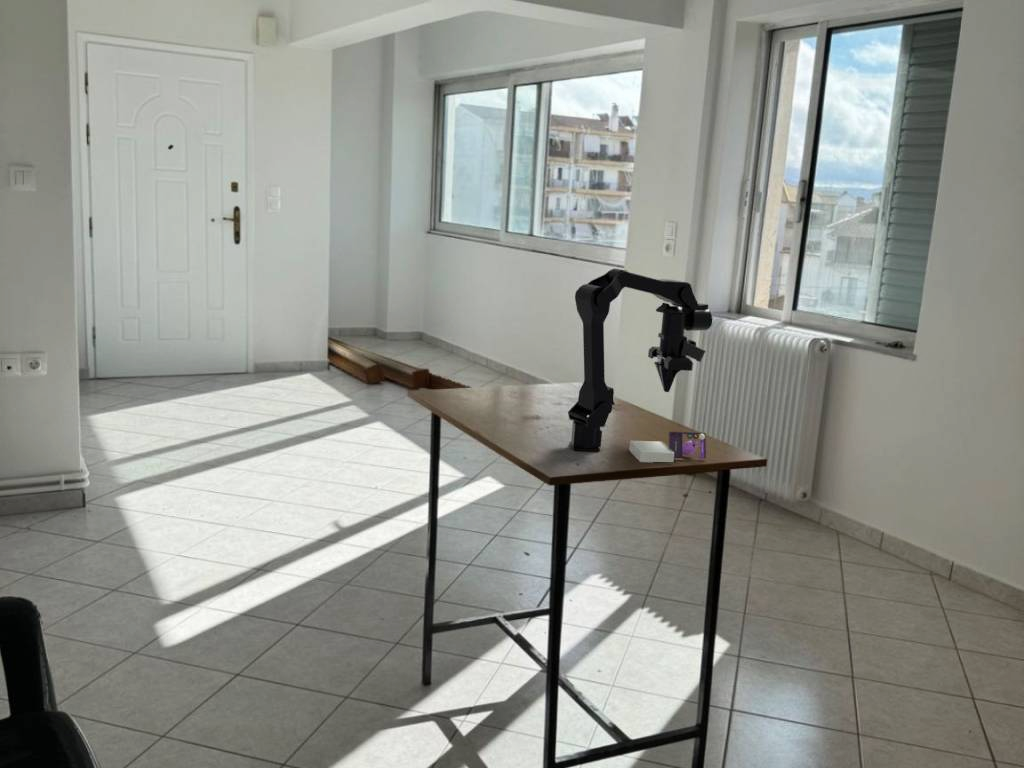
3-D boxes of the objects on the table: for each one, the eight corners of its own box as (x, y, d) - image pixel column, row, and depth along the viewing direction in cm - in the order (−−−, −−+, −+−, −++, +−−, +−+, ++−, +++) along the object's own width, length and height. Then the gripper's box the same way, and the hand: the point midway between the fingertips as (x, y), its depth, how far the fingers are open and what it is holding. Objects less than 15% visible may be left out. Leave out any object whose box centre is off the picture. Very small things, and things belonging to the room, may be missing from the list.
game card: (670, 431, 225) (706, 432, 226) (663, 433, 230) (699, 434, 231) (670, 459, 224) (706, 460, 225) (663, 460, 229) (699, 461, 230)
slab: (640, 462, 221) (641, 451, 220) (629, 450, 230) (630, 440, 230) (673, 463, 222) (674, 452, 221) (661, 451, 232) (662, 441, 231)
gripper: (716, 338, 228) (709, 401, 231) (691, 327, 246) (685, 385, 249) (671, 335, 227) (665, 399, 230) (650, 324, 245) (644, 383, 248)
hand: (666, 391), depth 239 cm, fingers closed
